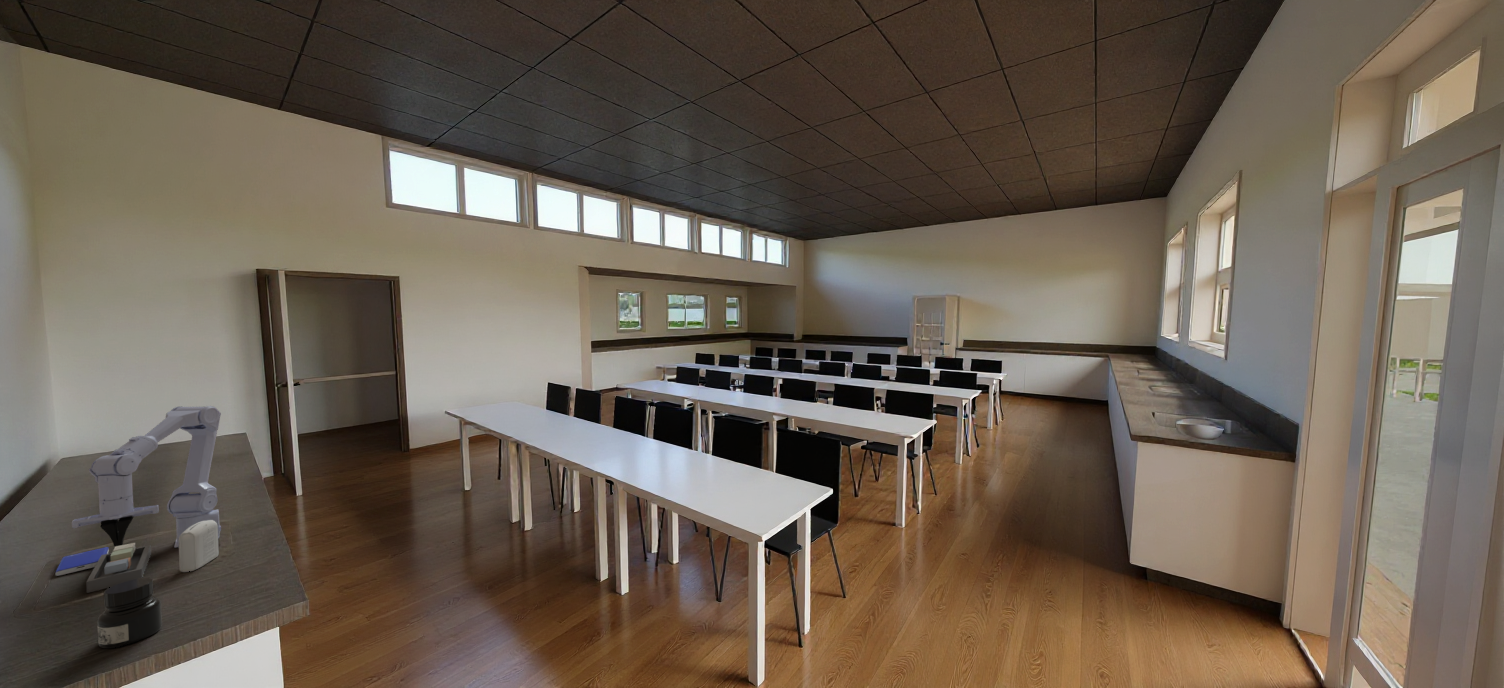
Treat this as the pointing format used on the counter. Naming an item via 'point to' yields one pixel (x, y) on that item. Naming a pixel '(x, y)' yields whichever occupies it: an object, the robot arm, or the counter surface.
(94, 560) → the hard drive
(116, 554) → the sage key
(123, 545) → the cream key
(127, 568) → the terracotta key
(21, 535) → the counter surface
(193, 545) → the photo printer
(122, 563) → the slate key
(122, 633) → the ink bottle
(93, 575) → the dark grey tray
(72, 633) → the counter surface
